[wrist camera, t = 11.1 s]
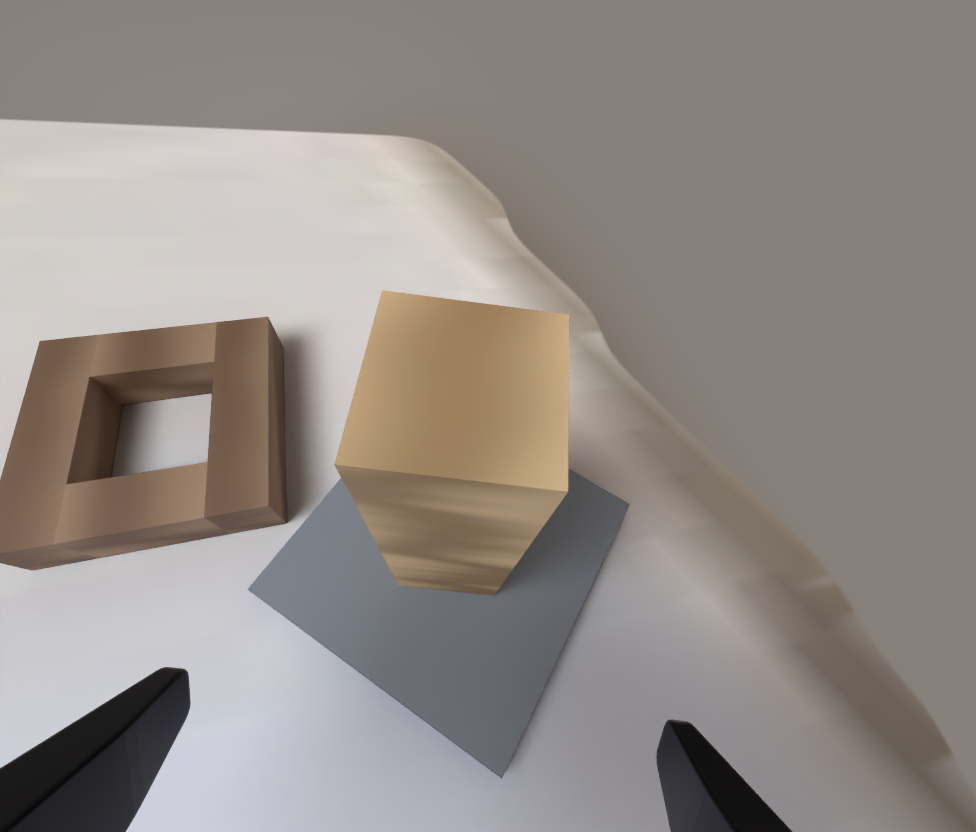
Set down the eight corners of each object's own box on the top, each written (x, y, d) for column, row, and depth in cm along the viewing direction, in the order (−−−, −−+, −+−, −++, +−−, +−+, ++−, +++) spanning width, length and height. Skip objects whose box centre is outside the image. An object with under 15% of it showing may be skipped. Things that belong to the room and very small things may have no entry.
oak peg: (500, 504, 21) (568, 314, 10) (493, 595, 19) (568, 491, 8) (414, 494, 21) (382, 290, 10) (398, 585, 19) (334, 464, 8)
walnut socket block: (283, 347, 25) (268, 316, 23) (286, 523, 21) (268, 506, 18) (77, 371, 23) (39, 341, 21) (31, 570, 19) (-22, 557, 17)
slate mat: (623, 509, 22) (629, 503, 22) (499, 774, 17) (501, 778, 16) (421, 391, 25) (420, 383, 24) (254, 592, 19) (247, 589, 19)
